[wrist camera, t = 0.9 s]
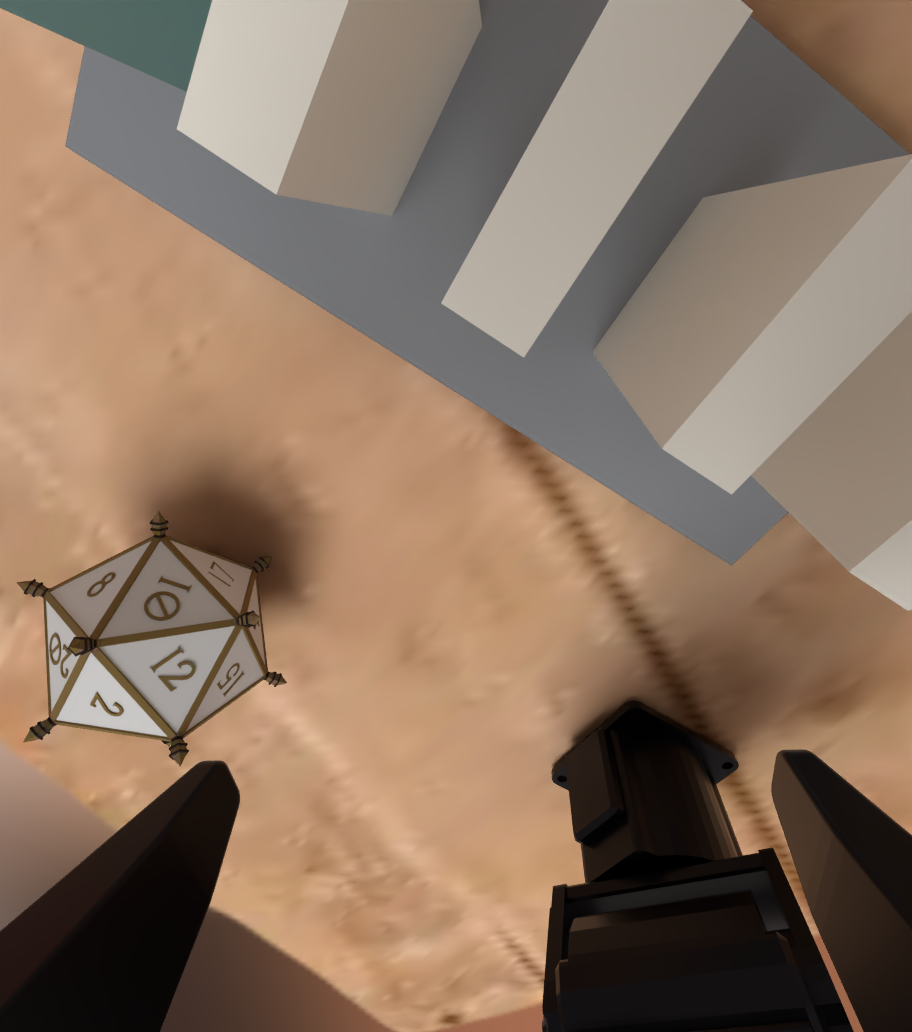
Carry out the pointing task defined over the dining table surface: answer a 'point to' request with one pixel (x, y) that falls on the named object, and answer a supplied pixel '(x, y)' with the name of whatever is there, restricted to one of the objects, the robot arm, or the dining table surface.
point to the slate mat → (464, 211)
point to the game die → (152, 641)
